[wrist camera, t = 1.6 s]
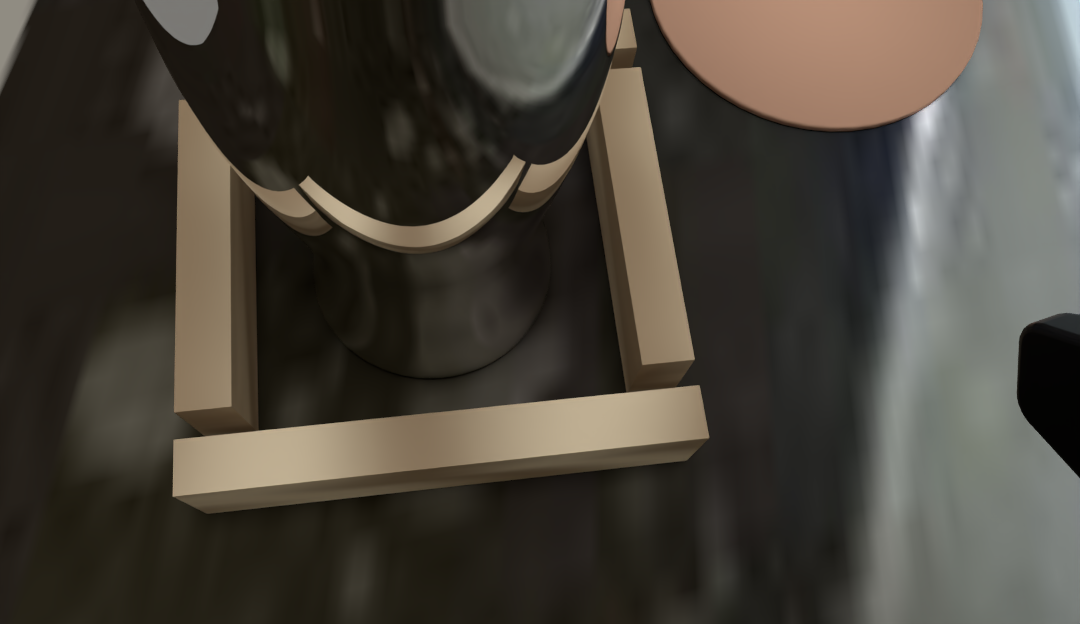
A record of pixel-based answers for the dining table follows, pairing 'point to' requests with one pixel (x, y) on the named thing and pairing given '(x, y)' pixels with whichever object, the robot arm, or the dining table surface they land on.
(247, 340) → the pocket frame
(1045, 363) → the robot arm
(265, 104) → the beer glass
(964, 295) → the dining table surface
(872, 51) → the mat
